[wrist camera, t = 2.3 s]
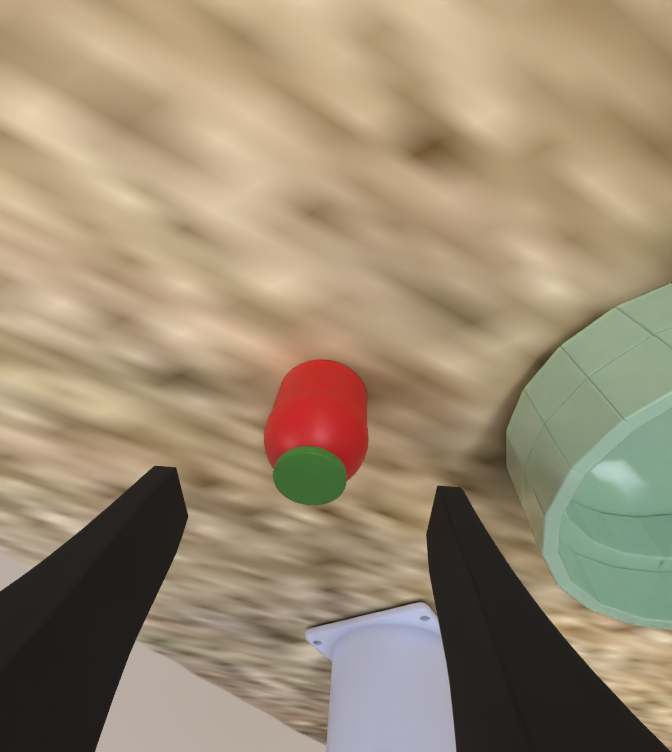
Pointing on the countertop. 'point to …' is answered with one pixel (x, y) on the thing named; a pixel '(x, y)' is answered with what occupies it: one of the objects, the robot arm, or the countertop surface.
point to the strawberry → (317, 431)
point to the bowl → (603, 461)
